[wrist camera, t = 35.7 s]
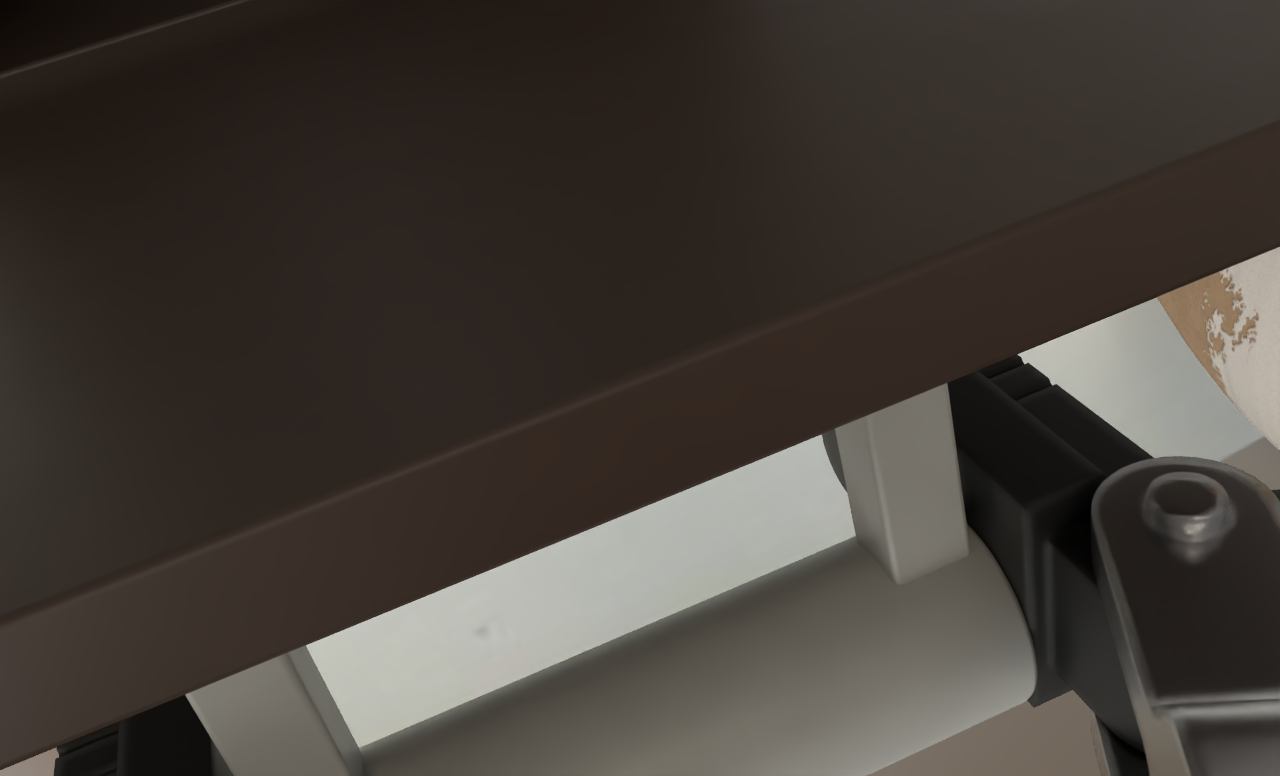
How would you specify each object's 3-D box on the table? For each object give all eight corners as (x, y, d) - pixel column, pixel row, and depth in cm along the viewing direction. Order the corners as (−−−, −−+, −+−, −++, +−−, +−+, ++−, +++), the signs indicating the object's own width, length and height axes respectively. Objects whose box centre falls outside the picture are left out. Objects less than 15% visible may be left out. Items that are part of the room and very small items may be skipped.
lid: (-1238, 1101, 4) (-257, 1630, 7) (1766, -64, 6) (1607, 677, 9) (-132, 154, 16) (56, 469, 19) (738, -122, 19) (798, 194, 21)
